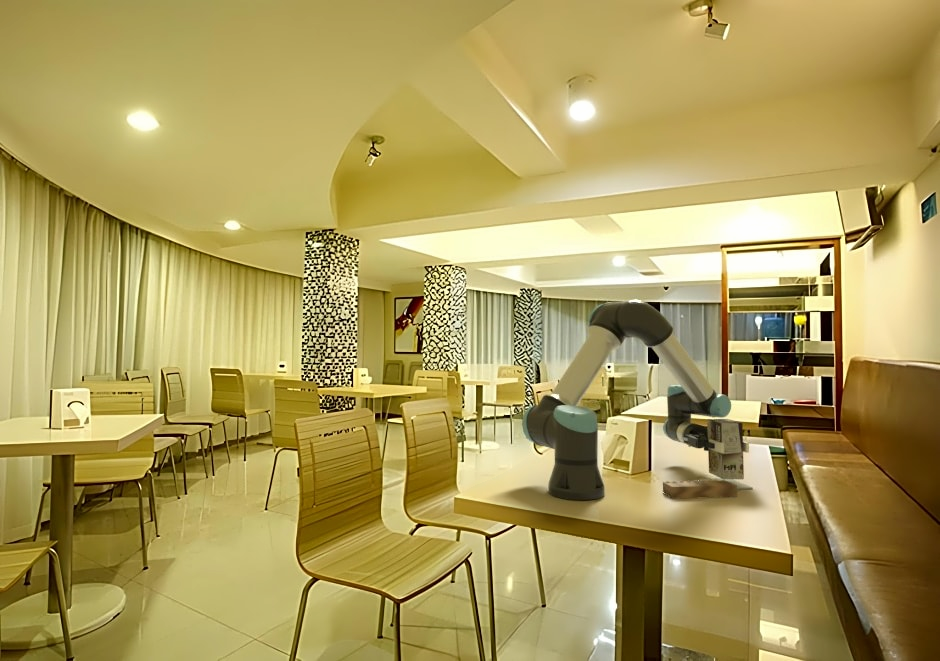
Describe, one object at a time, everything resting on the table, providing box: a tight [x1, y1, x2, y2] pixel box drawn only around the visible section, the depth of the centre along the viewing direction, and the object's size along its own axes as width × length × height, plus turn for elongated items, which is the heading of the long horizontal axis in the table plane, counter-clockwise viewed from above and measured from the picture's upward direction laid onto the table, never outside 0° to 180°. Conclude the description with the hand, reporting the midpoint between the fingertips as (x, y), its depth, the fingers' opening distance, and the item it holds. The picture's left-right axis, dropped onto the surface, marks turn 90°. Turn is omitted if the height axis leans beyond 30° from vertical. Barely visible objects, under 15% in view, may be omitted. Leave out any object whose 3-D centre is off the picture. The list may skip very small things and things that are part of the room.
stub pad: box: [696, 477, 753, 490], centre depth 152 cm, size 10×11×1 cm
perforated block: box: [662, 479, 738, 499], centre depth 141 cm, size 18×6×3 cm, turn 95°
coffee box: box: [706, 418, 745, 480], centre depth 152 cm, size 9×6×16 cm
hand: (735, 447), depth 147 cm, fingers closed on coffee box, 7 cm apart
